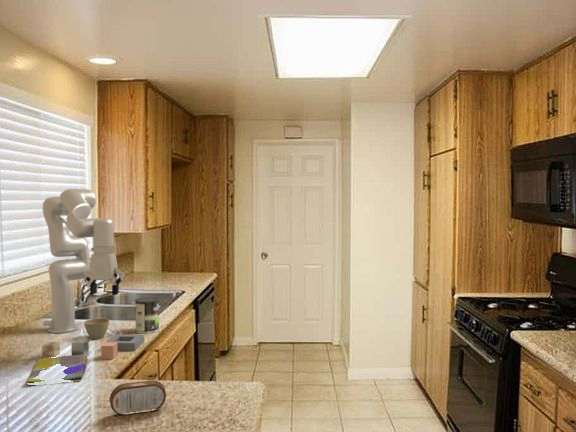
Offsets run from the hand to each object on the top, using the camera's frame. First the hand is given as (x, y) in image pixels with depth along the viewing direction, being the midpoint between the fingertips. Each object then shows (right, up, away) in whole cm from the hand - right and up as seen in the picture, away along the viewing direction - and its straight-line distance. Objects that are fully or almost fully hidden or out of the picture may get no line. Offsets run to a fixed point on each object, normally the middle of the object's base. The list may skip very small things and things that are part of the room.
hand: (104, 294), depth 197 cm
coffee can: (+9, -21, +29) cm, 37 cm away
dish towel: (-7, -24, -25) cm, 35 cm away
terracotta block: (+5, -22, -9) cm, 24 cm away
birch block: (-17, -22, -8) cm, 29 cm away
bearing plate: (+6, -22, +5) cm, 23 cm away
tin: (+30, -24, -57) cm, 69 cm away
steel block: (-6, -22, -9) cm, 25 cm away
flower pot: (-10, -22, +17) cm, 29 cm away
